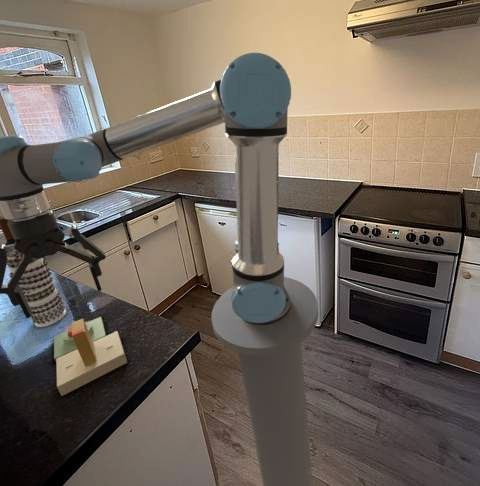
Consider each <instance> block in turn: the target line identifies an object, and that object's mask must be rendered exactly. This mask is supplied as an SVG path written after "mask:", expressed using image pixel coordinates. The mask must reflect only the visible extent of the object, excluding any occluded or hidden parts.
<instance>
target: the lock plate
mask: <svg viewBox="0 0 480 486" xmlns="http://www.w3.org/2000/svg"><path fill="white" fill-rule="evenodd" d="M93 344H94V346H95V353H96V359H97V361H96V362H94V363H92V364H89V365H87V366H85V365H84V363H83V360H82V358H81V356H80V354H79V351H78V349H77V350H74V351H72V352H70V353H68V354H66V355H63V356H61V357H59V358H57V359H56V361H55V362H56V388H57V390H58V392H59V394H60V396H61V397H63V396H65V395H67V394H69V393H71V392H73V391H75V390H77V389H79V388H80V387H83V386H85V385H87V384H89V383H91V382H93V381H94V380H96V379H98V378H100V377H102V376H104V375H106V374H108V373H110V372H113V371H114V370H115V369H117V368H120V367H122V366H123V365H126V364H128V360H127V357H126V353H125V350H124V347H123V344H122V340H121V337H120V334H119V332H118V330H116V331H114V332H112V333H110V334H107V335H106V336H105V337H103V338H101V339H99V340H97V341H94V342H93Z"/></svg>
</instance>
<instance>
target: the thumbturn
mask: <svg viewBox="0 0 480 486" xmlns="http://www.w3.org/2000/svg"><path fill="white" fill-rule="evenodd" d="M85 322H86V321H85V319H84V318H81V319H78V320H76V321H73V322H71V324H70V326H71V325H72V338H73V340H74V342H75V345H76V347H77V349H78V351H79V354H80V356H81V358H82V360H83V363H84V365H85V366H87V365H89V364H92V363H94V362H96V361H97V359H96V353H95V346H94V344H93V341H92V339H91V336H90V334H89V332H88V329H87V327H86V324H85Z"/></svg>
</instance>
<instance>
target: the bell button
mask: <svg viewBox="0 0 480 486" xmlns="http://www.w3.org/2000/svg"><path fill="white" fill-rule="evenodd" d="M67 329H68V330H67ZM67 329H66V330H67V331H68V334H69V336H70V337H72V325H71V324H70V326H68V327H67Z"/></svg>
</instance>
